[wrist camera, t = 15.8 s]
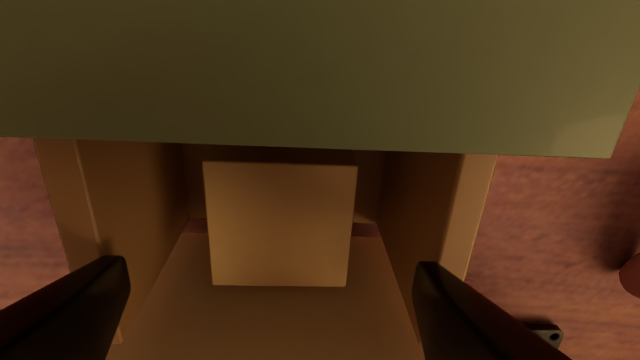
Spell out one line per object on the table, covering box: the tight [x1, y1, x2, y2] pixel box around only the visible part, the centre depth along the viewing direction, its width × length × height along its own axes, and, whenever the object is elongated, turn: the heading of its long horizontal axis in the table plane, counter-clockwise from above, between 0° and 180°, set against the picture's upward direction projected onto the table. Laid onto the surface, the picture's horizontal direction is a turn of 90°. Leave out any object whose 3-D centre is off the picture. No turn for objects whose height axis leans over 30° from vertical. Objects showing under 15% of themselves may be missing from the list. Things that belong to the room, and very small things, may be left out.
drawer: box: [32, 138, 499, 360], centre depth 12 cm, size 17×10×7 cm, turn 177°
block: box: [202, 144, 358, 287], centre depth 12 cm, size 4×4×4 cm
